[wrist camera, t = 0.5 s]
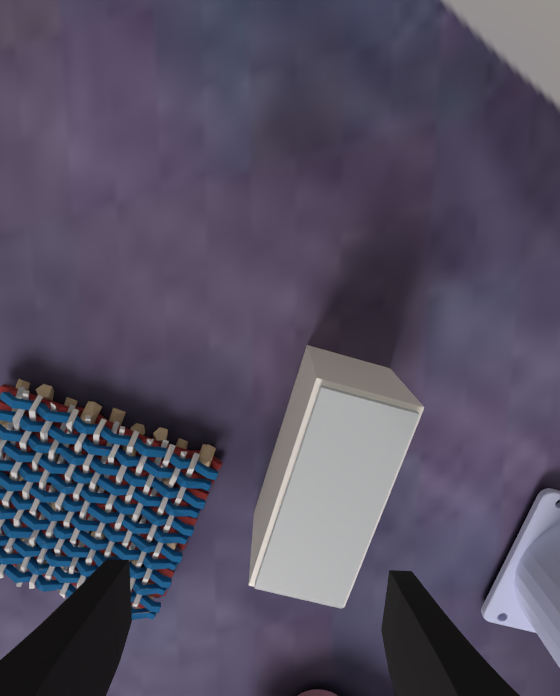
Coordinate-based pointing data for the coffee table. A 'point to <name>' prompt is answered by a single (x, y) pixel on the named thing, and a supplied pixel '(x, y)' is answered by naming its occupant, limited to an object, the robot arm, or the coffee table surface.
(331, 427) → the painted block
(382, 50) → the coffee table surface
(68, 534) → the woven mat
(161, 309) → the coffee table surface
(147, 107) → the coffee table surface
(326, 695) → the pink curved figurine
